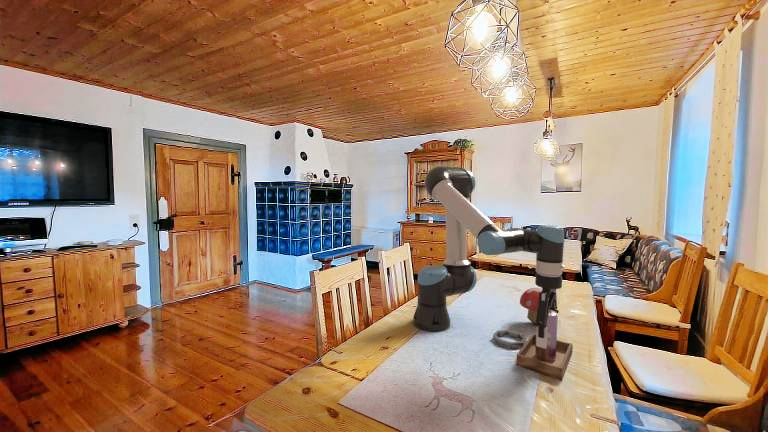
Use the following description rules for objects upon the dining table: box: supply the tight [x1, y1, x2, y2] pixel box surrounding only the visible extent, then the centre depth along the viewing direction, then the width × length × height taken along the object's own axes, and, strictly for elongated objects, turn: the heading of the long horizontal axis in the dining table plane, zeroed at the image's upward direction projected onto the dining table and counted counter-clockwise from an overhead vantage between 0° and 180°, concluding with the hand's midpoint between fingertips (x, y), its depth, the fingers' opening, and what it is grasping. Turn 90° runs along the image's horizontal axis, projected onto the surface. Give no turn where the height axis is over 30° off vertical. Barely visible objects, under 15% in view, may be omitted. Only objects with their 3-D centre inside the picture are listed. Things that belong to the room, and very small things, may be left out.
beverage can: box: [535, 310, 559, 361], centre depth 102 cm, size 6×6×15 cm
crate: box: [515, 333, 574, 381], centre depth 103 cm, size 13×20×4 cm, turn 142°
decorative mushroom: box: [519, 287, 542, 324], centre depth 131 cm, size 13×13×15 cm
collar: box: [492, 329, 528, 350], centre depth 115 cm, size 10×10×2 cm
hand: (545, 339), depth 102 cm, fingers open, 13 cm apart
